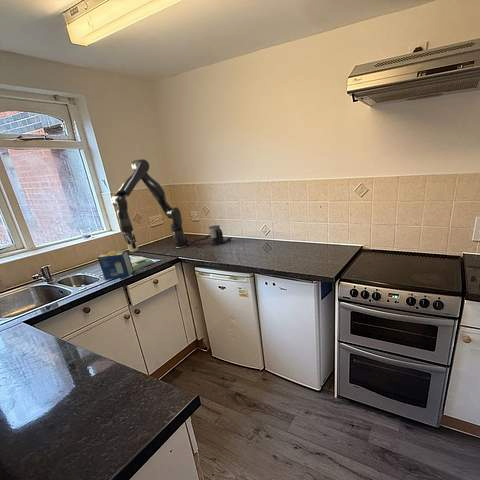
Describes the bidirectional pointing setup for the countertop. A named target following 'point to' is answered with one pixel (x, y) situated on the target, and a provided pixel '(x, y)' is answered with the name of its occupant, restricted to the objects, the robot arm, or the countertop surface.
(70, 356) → the countertop surface
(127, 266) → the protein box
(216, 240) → the milk frother
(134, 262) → the scale
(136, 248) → the beige cup
